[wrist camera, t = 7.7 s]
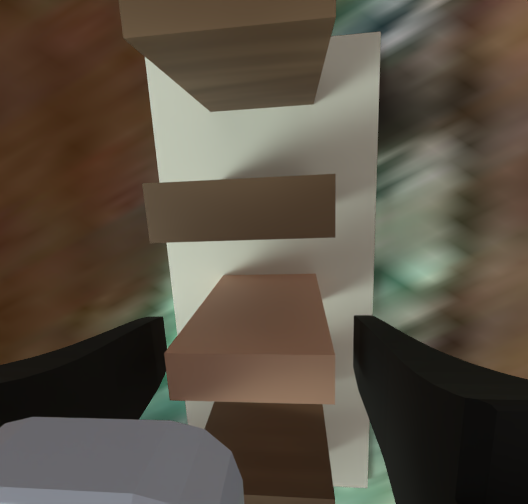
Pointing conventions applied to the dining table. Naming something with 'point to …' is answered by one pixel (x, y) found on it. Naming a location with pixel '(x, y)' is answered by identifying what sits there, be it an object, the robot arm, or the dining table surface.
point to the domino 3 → (255, 344)
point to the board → (288, 250)
